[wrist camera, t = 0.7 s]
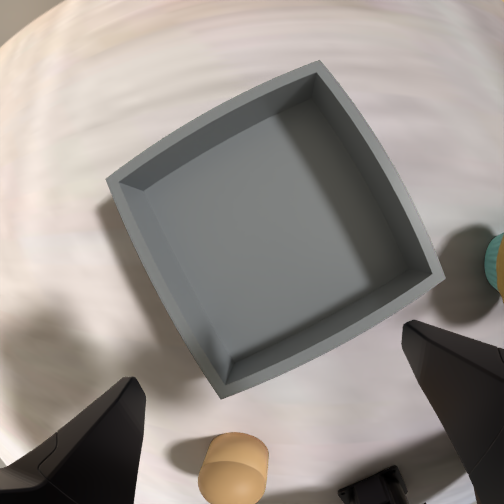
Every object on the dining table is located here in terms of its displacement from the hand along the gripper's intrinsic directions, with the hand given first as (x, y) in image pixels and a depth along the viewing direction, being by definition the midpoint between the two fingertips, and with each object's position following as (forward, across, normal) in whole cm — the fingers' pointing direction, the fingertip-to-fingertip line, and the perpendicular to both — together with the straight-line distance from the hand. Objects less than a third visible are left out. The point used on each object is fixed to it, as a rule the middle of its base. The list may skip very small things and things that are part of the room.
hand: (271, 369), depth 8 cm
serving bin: (+13, -2, -1) cm, 13 cm away
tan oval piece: (+8, +5, +17) cm, 20 cm away
